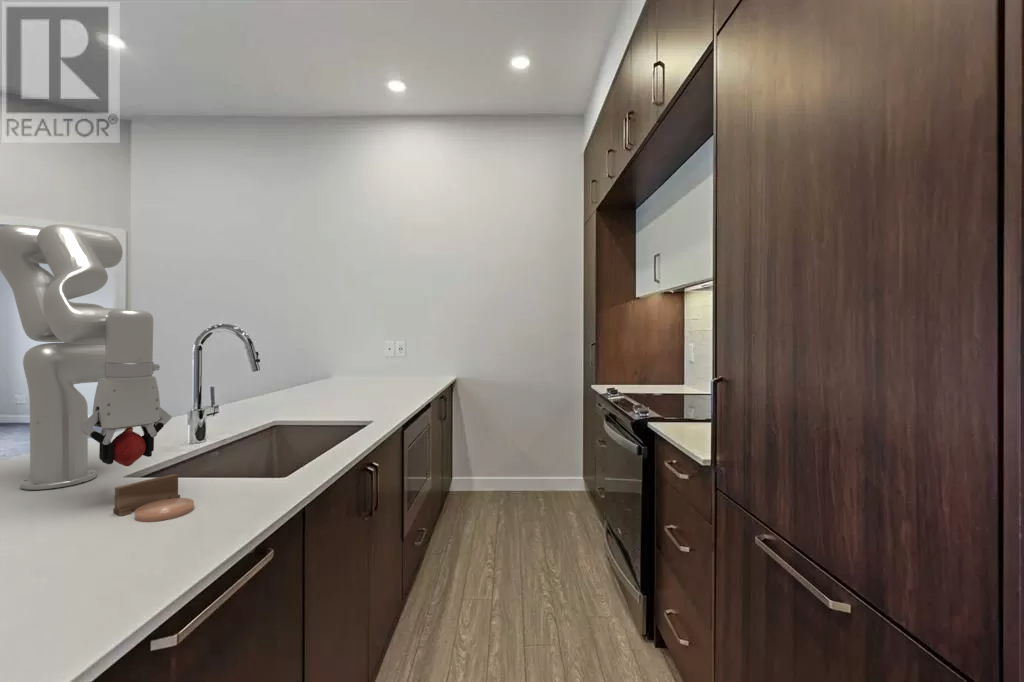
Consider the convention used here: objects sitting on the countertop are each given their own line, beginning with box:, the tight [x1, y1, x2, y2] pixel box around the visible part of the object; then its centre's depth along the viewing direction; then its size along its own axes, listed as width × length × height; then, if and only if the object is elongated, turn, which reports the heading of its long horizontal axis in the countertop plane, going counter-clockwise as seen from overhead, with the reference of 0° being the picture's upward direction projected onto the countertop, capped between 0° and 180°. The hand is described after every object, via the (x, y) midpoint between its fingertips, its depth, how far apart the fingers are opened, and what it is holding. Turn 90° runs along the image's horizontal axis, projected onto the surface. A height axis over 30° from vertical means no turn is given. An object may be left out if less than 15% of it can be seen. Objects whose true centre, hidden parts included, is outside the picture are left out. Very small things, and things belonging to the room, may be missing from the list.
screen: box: [112, 473, 181, 517], centre depth 93 cm, size 3×10×5 cm, turn 151°
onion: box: [111, 427, 146, 467], centre depth 96 cm, size 6×6×8 cm
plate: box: [134, 497, 195, 523], centre depth 90 cm, size 9×9×1 cm
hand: (127, 458), depth 96 cm, fingers closed on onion, 5 cm apart
